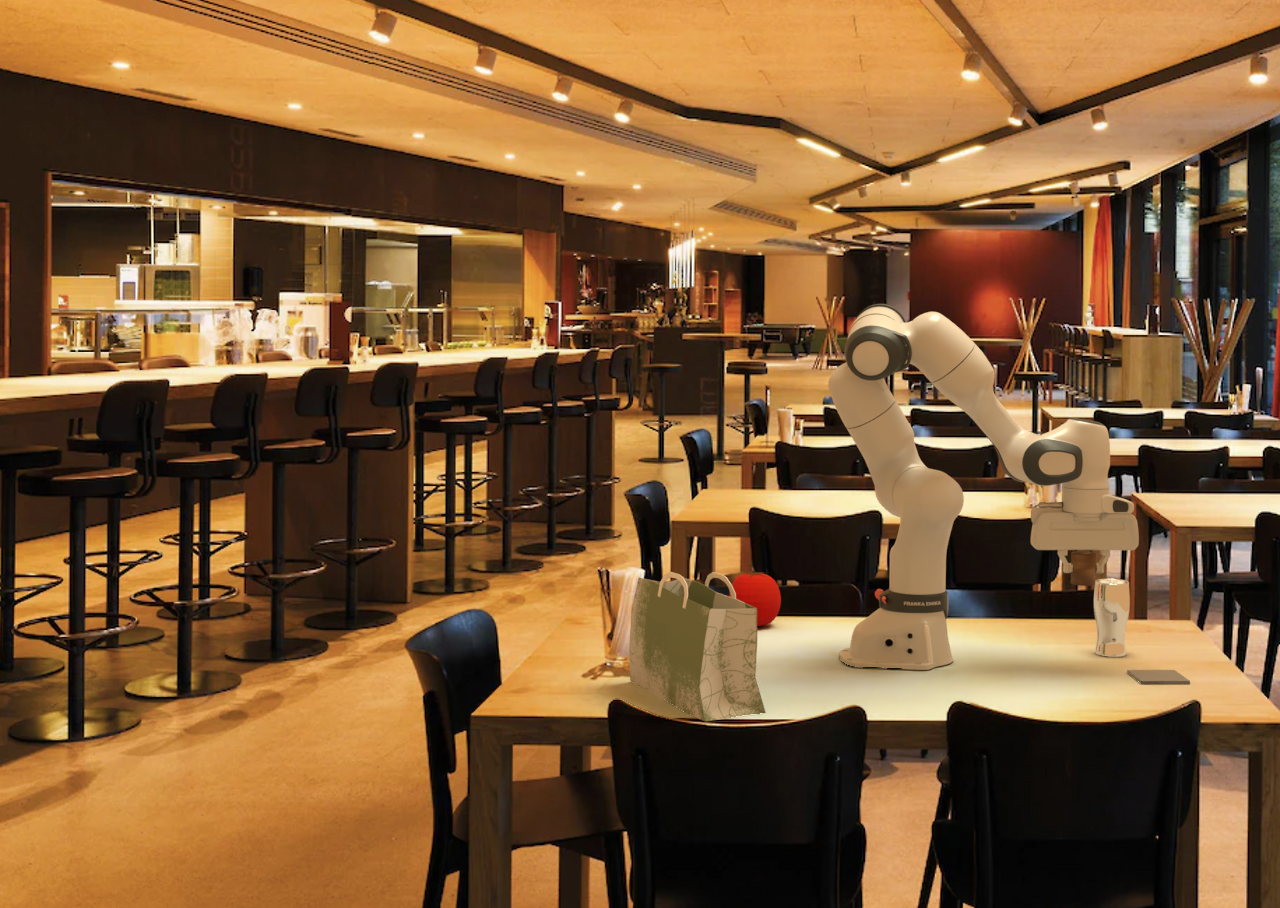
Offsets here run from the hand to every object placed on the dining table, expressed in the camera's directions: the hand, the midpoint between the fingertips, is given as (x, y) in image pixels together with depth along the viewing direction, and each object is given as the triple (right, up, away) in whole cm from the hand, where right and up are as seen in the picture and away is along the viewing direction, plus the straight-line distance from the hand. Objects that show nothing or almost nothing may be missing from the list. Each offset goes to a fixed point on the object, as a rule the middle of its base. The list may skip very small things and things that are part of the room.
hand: (1083, 572), depth 294 cm
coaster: (+12, -19, -8) cm, 24 cm away
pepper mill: (0, -2, 0) cm, 2 cm away
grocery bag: (-76, -22, -18) cm, 81 cm away
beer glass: (+9, -18, +13) cm, 24 cm away
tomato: (-61, -16, +44) cm, 77 cm away
